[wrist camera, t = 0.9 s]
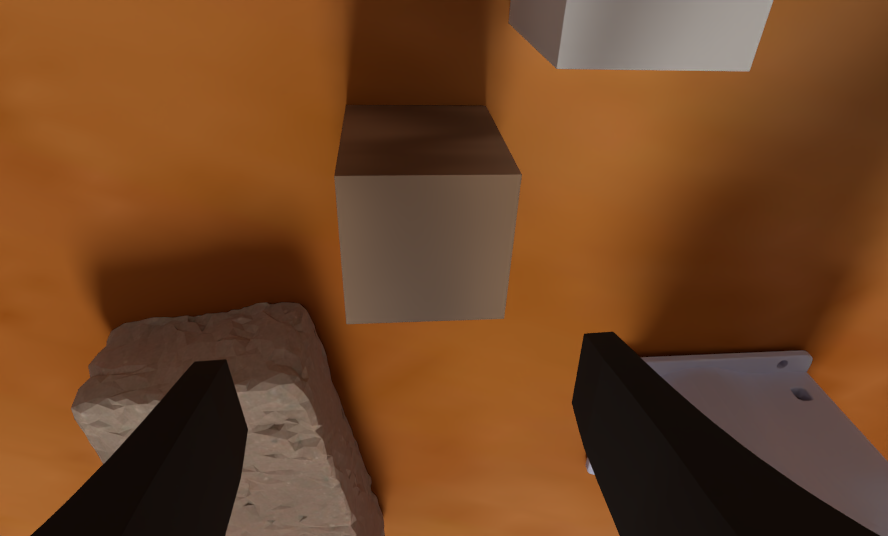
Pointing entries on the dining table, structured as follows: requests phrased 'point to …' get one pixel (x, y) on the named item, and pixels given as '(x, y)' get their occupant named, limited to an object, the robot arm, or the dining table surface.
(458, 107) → the walnut block
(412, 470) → the dining table surface
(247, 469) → the brick
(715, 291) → the dining table surface
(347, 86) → the dining table surface
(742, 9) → the grey block
